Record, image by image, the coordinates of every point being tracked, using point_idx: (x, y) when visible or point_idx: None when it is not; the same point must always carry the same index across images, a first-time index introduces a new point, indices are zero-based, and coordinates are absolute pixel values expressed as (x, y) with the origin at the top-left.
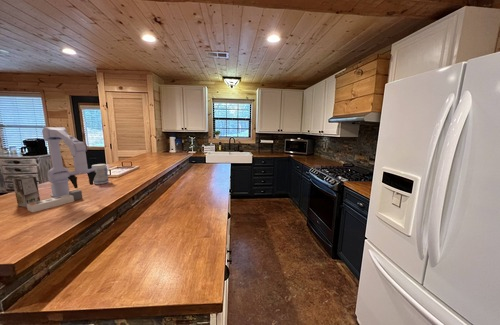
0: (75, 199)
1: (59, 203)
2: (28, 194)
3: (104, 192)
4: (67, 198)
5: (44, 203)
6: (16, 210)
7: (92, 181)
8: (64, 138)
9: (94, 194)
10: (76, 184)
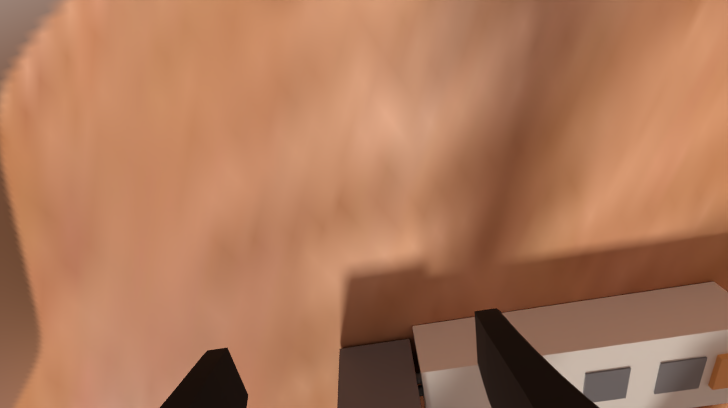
0: (397, 346)
1: (531, 320)
2: None
3: (145, 382)
4: (471, 353)
5: (665, 333)
6: None
7: (176, 403)
8: None
9: None
10: (522, 364)
